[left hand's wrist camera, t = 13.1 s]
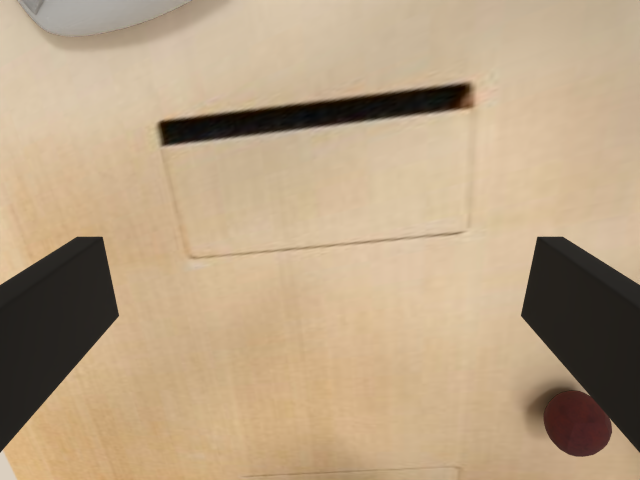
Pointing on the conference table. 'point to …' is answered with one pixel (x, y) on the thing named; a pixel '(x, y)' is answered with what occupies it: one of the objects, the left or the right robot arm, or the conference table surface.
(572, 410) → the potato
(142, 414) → the conference table surface
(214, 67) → the conference table surface
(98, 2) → the projector
